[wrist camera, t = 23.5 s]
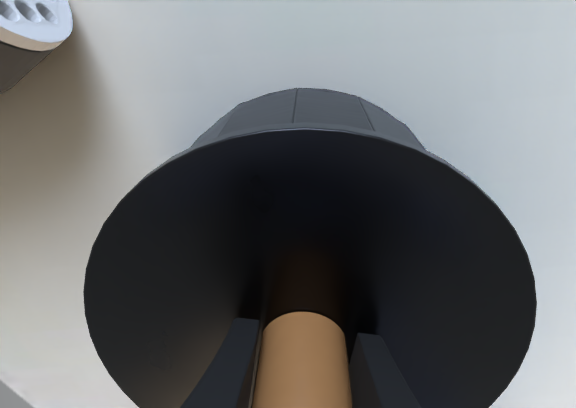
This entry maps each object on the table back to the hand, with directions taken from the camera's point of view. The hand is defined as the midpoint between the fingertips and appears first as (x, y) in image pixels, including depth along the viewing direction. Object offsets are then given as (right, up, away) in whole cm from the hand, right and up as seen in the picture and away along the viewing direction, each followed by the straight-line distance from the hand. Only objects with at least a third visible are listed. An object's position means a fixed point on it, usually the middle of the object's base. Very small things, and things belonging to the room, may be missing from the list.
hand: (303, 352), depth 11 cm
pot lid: (0, 0, +1) cm, 1 cm away
